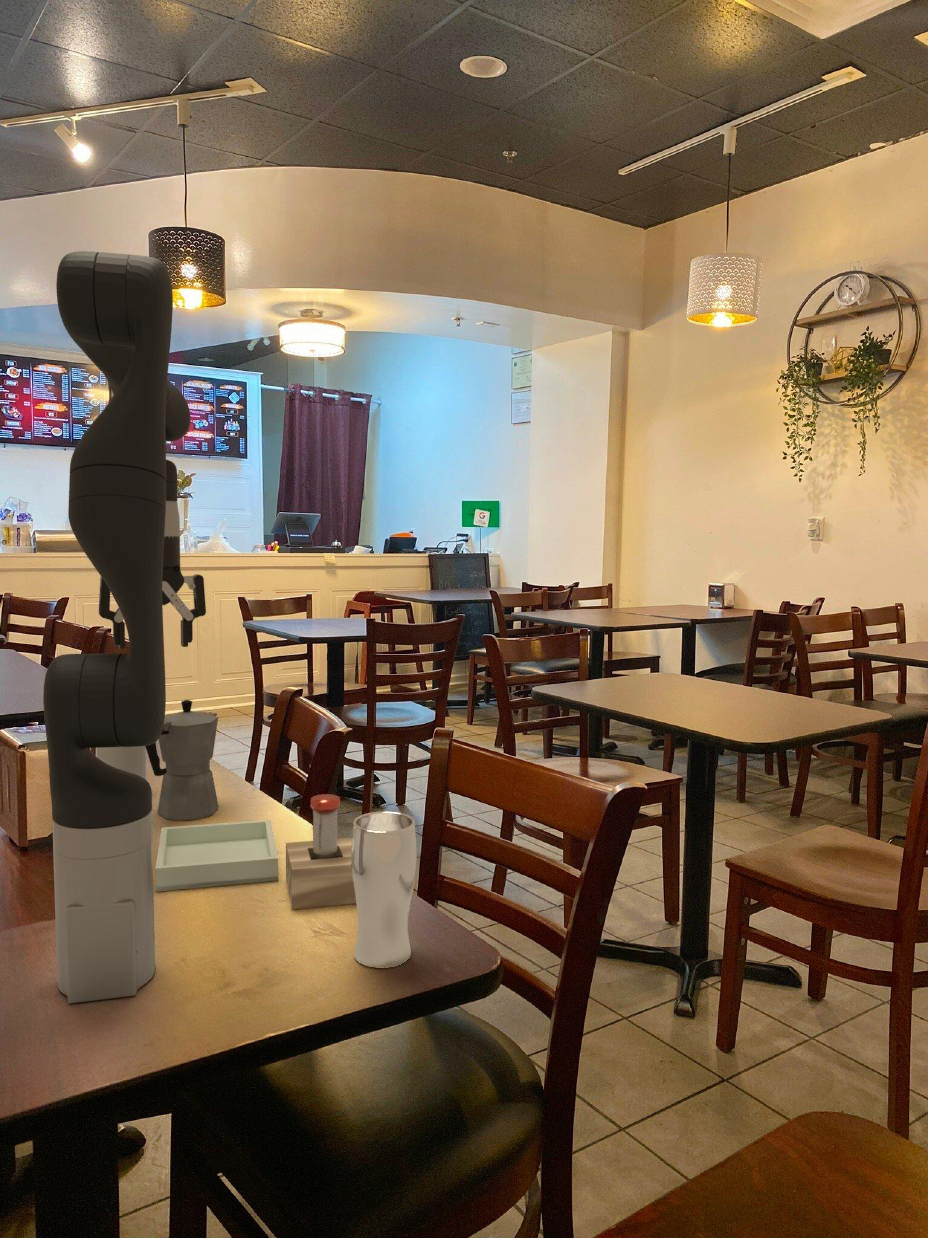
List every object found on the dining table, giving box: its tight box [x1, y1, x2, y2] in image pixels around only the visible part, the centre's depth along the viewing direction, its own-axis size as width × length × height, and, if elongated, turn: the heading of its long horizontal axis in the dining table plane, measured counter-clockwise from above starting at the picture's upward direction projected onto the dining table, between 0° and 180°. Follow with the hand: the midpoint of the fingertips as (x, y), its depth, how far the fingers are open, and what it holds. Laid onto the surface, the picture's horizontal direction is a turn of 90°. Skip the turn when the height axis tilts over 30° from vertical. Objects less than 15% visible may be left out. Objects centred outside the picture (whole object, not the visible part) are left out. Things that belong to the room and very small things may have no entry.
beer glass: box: [351, 810, 417, 968], centre depth 95 cm, size 7×7×15 cm
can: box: [96, 746, 147, 780], centre depth 147 cm, size 8×8×12 cm
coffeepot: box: [145, 699, 220, 822], centre depth 138 cm, size 15×9×18 cm, turn 155°
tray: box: [154, 819, 279, 892], centre depth 120 cm, size 15×15×3 cm
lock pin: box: [310, 793, 341, 860], centre depth 111 cm, size 4×4×12 cm
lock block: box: [285, 837, 356, 910], centre depth 112 cm, size 9×9×5 cm
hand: (153, 647), depth 127 cm, fingers open, 8 cm apart
